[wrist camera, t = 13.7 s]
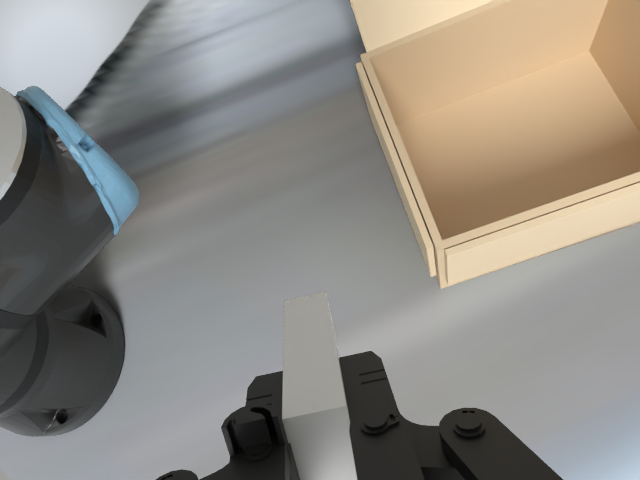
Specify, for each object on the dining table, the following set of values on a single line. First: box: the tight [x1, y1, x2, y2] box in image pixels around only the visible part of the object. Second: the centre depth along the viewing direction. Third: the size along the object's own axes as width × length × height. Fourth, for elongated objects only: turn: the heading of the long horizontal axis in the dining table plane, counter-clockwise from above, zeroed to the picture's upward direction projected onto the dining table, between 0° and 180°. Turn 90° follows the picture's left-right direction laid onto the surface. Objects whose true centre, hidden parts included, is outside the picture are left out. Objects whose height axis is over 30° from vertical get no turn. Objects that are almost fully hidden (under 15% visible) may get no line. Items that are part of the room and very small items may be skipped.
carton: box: [355, 0, 640, 289], centre depth 43 cm, size 23×19×12 cm
